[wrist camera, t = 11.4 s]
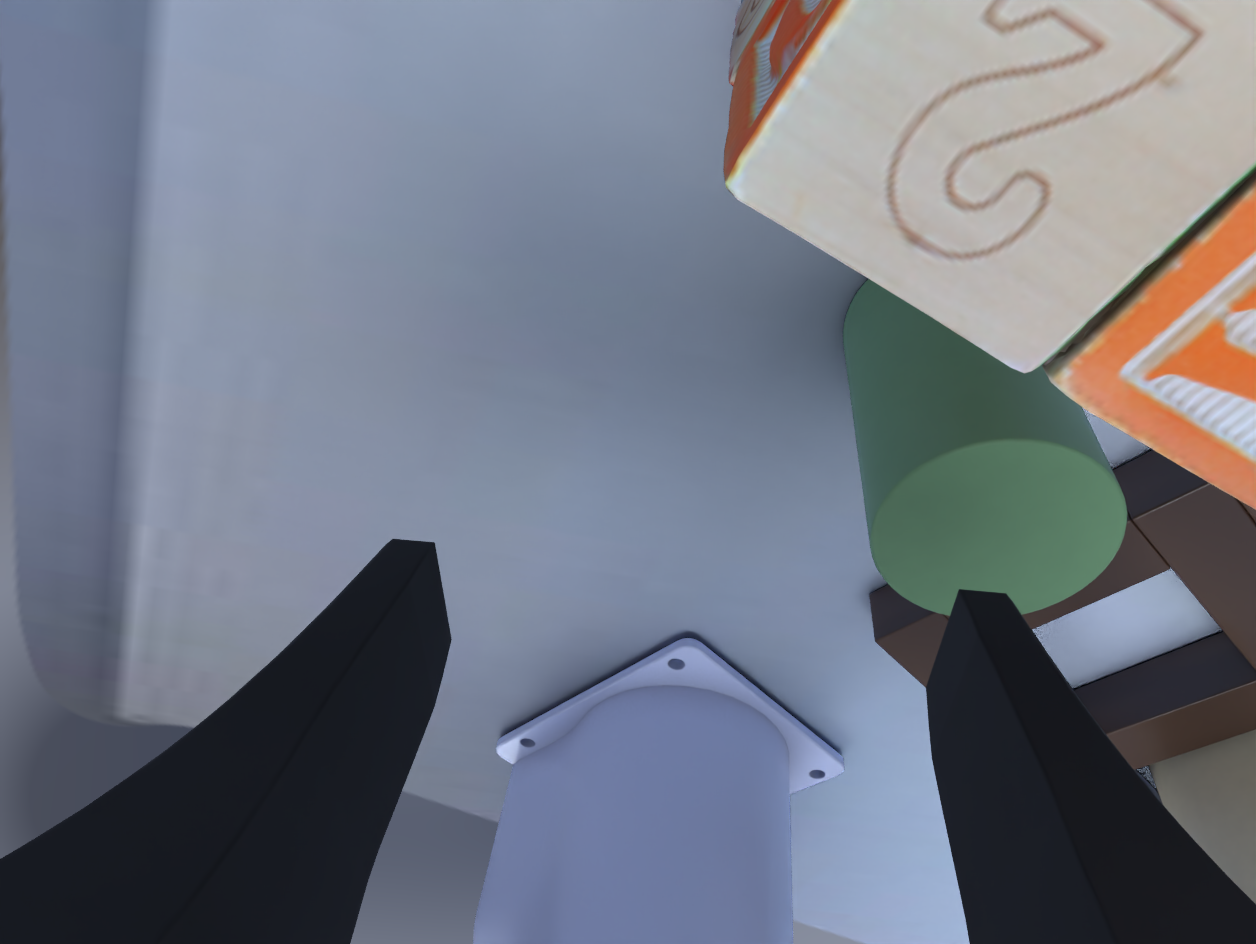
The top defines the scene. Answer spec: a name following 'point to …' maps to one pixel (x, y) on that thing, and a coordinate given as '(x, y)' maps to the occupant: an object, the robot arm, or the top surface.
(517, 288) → the top surface
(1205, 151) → the stack of blocks
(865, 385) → the green peg
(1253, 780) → the cream peg
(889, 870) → the top surface
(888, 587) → the rack
